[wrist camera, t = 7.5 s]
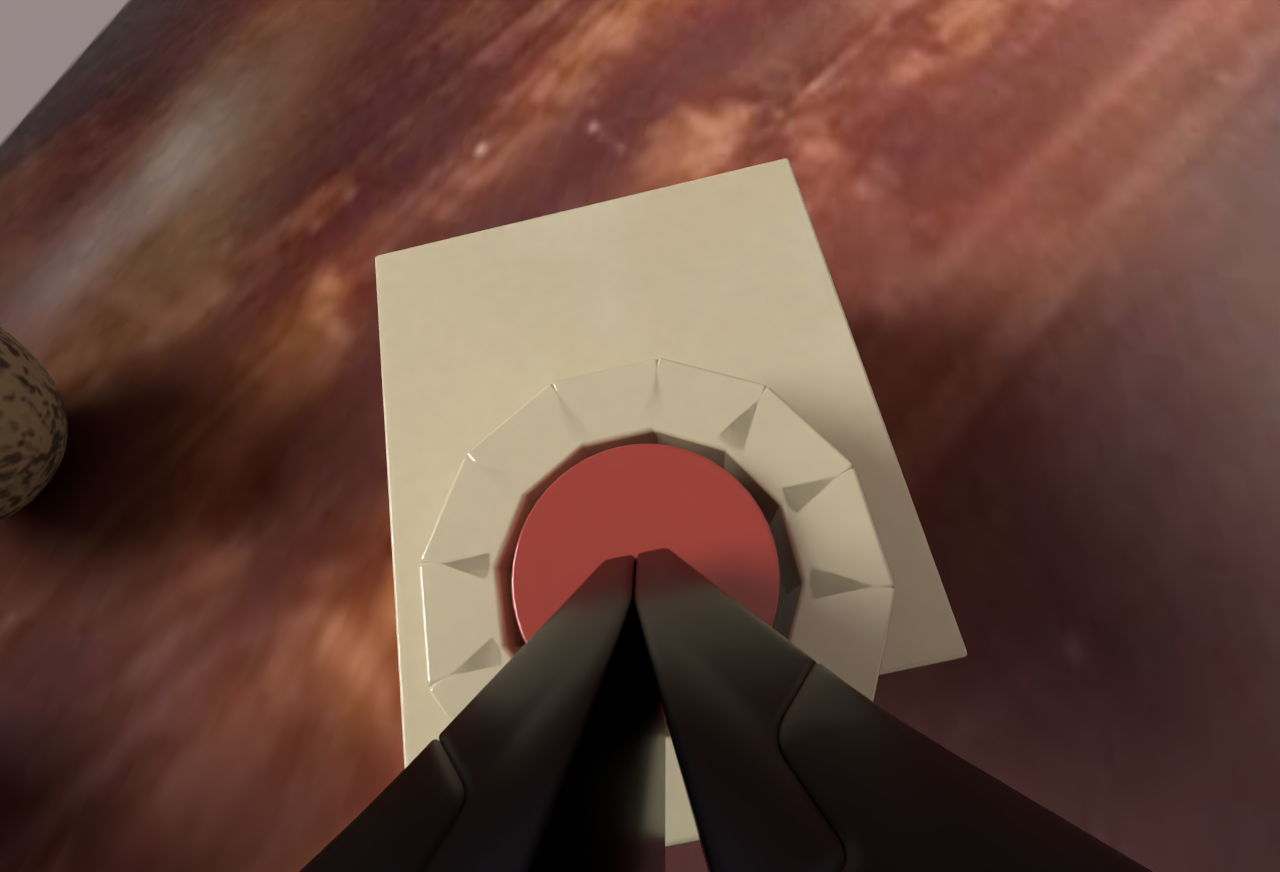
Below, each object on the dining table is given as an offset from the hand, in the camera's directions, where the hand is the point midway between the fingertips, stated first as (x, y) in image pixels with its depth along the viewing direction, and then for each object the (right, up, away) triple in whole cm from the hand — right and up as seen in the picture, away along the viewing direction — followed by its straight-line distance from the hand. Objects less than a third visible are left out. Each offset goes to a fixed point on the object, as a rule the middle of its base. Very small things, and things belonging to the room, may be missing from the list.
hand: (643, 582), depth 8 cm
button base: (0, 0, +9) cm, 9 cm away
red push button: (0, 0, +2) cm, 2 cm away
